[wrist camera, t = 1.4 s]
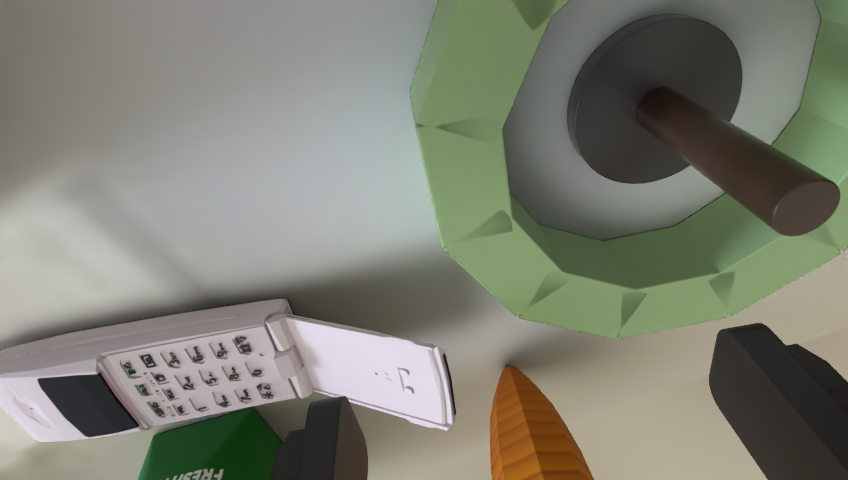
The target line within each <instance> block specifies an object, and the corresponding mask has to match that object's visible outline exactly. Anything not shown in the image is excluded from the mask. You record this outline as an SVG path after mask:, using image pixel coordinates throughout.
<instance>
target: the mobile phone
mask: <svg viewBox="0 0 848 480" xmlns="http://www.w3.org/2000/svg"><path fill="white" fill-rule="evenodd" d="M313 391H315V392H318V393H322V394H325V395H328V396H332V397H340V396H346V397H347V398H348V400H349V402H352V403H355V404H358V405H362V406H365V407H368V408H371V409H375V410H378V411H381V412H385V413H388V414H391V415H395V416H398V417H401V418H404V419H408V421H409V422H411V423H415V424H418V425H422V426H425V427H429V428H433V427H436V428H439V429H443V430H447V431H448V430H449V429H450V428H452V427H453V424H454V421H455V418H456V409H455V402H454V395H453V388H452V381H451V375H450V371H449V367H448V364H447V360H446V356H445V352H444V349H442V348H439V347H436V346H434V345H432V344H427V343H422V342H417V341H412V340H410V339H405V338H401V337H396V336H392V335H388V334H384V333H380V332H377V331H372V330H367V329H362V328H357V327H351V326H346V325H341V324H336V323H331V322H326V321H321V320H316V319H311V318H306V317H301V316H295V315H293V313H292V311H291V308H290V306H289V303H288V301H287V300H286V299H273V300H265V301H258V302H252V303H245V304H238V305H232V306H225V307H219V308H212V309H206V310H199V311H193V312H186V313H179V314H173V315H167V316H162V317H156V318H151V319H145V320H139V321H134V322H128V323H122V324H117V325H111V326H105V327H100V328H94V329H89V330H83V331H77V332H72V333H67V334H63V335H58V336H54V337H50V338H46V339H42V340H38V341H34V342H30V343H26V344H21V345H17V346H13V347H9V348H5V349H3V350H1V351H0V406H1V407H2V408H3V409H4V410H5V411H6V412H7V413H8V414H9V415H10V416H11V417H12V418H13V419H14V420H15V421H16V422H17V423H18V424H19V425H20V426H21V427H22V429H23V430H24V431H25V432H26V433H27V434H28V435H29V436H30V437H31V438H33V439H35V440H37V441H41V442H54V441H70V440H80V439H90V438H100V437H107V436H113V435H119V434H125V433H131V432H137V431H143V430H149V429H150V428H151V427H153V426H157V425H162V424H168V423H173V422H178V421H183V420H189V419H194V418H198V417H203V416H208V415H212V414H217V413H222V412H227V411H232V410H237V409H242V408H247V407H252V406H257V405H262V404H266V403H271V402H277V401H282V400H287V399H292V398H296V397H297V395H298V396H299V397H301V398H302V399H303V398H306V397H308V396H310V395H311V393H312V392H313Z"/></svg>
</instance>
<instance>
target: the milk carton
mask: <svg viewBox="0 0 848 480" xmlns="http://www.w3.org/2000/svg"><path fill="white" fill-rule="evenodd" d="M282 444H283V443H282V442H281V440H280V439H279V438H278V437H277V436H276V434H275V433H274V432H273V431H272V429H271V428H270V427H269V426H268V425H267V423H266V422H265V421H264V420H263V419H262V417H261V416H260V415H259V414H258V413H257V411H256V410H255V409H254V408H250V409H246V410H243V411H239V412H236V413H232V414H228V415H225V416H221V417H218V418H214V419H210V420H207V421H203V422H200V423H196V424H193V425H189V426H185V427H182V428H178V429H175V430H171V431H168V432H164V433H160V434H157V435H154V436H153V438H152V441H151V444H150V447H149V450H148V453H147V455H146V458H145V461H144V464H143V467H142V469H141V472H140V475H139V478H138V480H271V475H272V471H273V466H274V461H275V457H276V454H277V452H278V451H279V449H280V447H281V446H282Z"/></svg>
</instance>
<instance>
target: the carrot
mask: <svg viewBox="0 0 848 480" xmlns="http://www.w3.org/2000/svg"><path fill="white" fill-rule="evenodd" d="M490 454H491V473H492V480H594V479H593V477H592V475H591V472H590V470H589V468H588V466H587V464H586V461H585V459H584V457H583V455H582V452H581V450H580V449H579V447H578V445H577V443H576V442H575V440H574V438H573V437H572V435H571V433H570V431H569V430H568V428H567V426H566V425H565V423H564V422H563V420H562V418H561V417H560V415H559V414H558V412H557V411H556V409H555V408H554V406H553V404H552V403H551V402H550V401H549V400H548V399H547V398H546V396H545V395H544V394H543V393H542V392H541V391H540V390H539V388H538V387H537V386H536V385H535V384H534V383H533V382H532V381H531V380H530V379H529V378H528V377H527V376H526V375H524V374H523V373H522V372H521V371H520V370H519V369H517V368H515V367H510V366H508V367H506V368H505V369H504V370H503V371H502V374H501V377H500V380H499V383H498V386H497V389H496V393H495V396H494V401H493V406H492V412H491V418H490Z"/></svg>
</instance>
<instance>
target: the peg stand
mask: <svg viewBox="0 0 848 480" xmlns="http://www.w3.org/2000/svg"><path fill="white" fill-rule="evenodd" d="M741 87H742V67H741V62H740V58H739V55H738V53H737V50H736V48H735V46H734V45H733V43H732V41H731V40H730V39H729V38H728V36H727V35H726V34H725V33H724V32H722V31H721V30H720V29H719V28H717V27H716V26H714V25H712V24H710V23H708V22H705V21H702V20H699V19H695V18H692V17H689V16H685V15H678V14H662V15H656V16H651V17H647V18H644V19H641V20H638V21H636V22H634V23H631V24H629V25H627V26H626V27H624V28H622V29H620V30H619V31H617V32H616V33H615V34H613V35H612V36H610V37H609V38H608V39H607V40H606V41H604V42H603V43H602V44H601V45H600V46H599V47H598V48H597V49H596V50H595V51H594V53H593V54H592V55H591V56H590V57H589V59H588V60H587V62H586V63H585V64H584V66H583V67H582V69H581V71H580V73H579V74H578V76H577V78H576V81H575V83H574V85H573V88H572V91H571V95H570V98H569V104H568V112H567V122H568V130H569V134H570V138H571V140H572V142H573V145H574V147H575V148H576V150H577V152H578V153H579V154H580V156H581V157H582V158H583V159H584V160H585V161H586V163H587V164H588V165H589V166H590V167H591V168H592V169H593V170H595V171H596V172H597V173H598V174H600V175H602V176H604V177H605V178H608V179H611V180H613V181H617V182H622V183H631V184H636V183H647V182H653V181H657V180H660V179H663V178H666V177H669V176H671V175H674V174H676V173H678V172H680V171H682V170H683V169H685V168H686V167H688V166H690V165H691V166H693V167H694V168H695V169H696V170H698V171H699V172H700V173H702V174H703V175H704V176H705V177H707V178H708V179H709V180H711V181H712V182H713V183H714V184H716V185H717V186H718V187H720V188H721V189H722V190H723V191H725V192H726V193H727V194H728V195H730V196H731V197H732V198H734V199H735V200H736V201H737V202H739V203H740V204H741V205H743V206H744V207H745V208H746V209H748V210H749V211H750V212H751V213H753V214H754V215H755V216H757V217H758V218H759V219H760V220H762V221H763V222H764V223H766V224H767V225H768V226H769V227H771V228H772V229H773V230H774V231H776V232H777V233H779V234H781V235H784V236H800V235H804V234H806V233H809V232H811V231H813V230H815V229H817V228H818V227H820V226H821V225H822V224H824V223H825V222H826V221H827V220H828V219H829V218H830V217H831V216H832V215H833V213H834V212H835V211H836V209H837V207H838V205H839V202H840V197H841V194H840V189H839V188H838V186H837V184H836V183H834V182H833V181H831V180H830V179H828V178H826V177H824V176H823V175H821V174H819V173H817V172H816V171H814V170H812V169H810V168H809V167H807V166H805V165H803V164H802V163H800V162H798V161H796V160H795V159H793V158H791V157H789V156H788V155H786V154H784V153H782V152H781V151H779V150H777V149H775V148H774V147H772V146H770V145H769V144H767V143H765V142H763V141H762V140H760V139H758V138H756V137H755V136H753V135H751V134H749V133H748V132H746V131H744V130H742V129H741V128H739V127H737V126H735V125H734V124H732V123H730V121H731V119H732V117H733V115H734V113H735V110H736V107H737V104H738V102H739V97H740V93H741Z"/></svg>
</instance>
